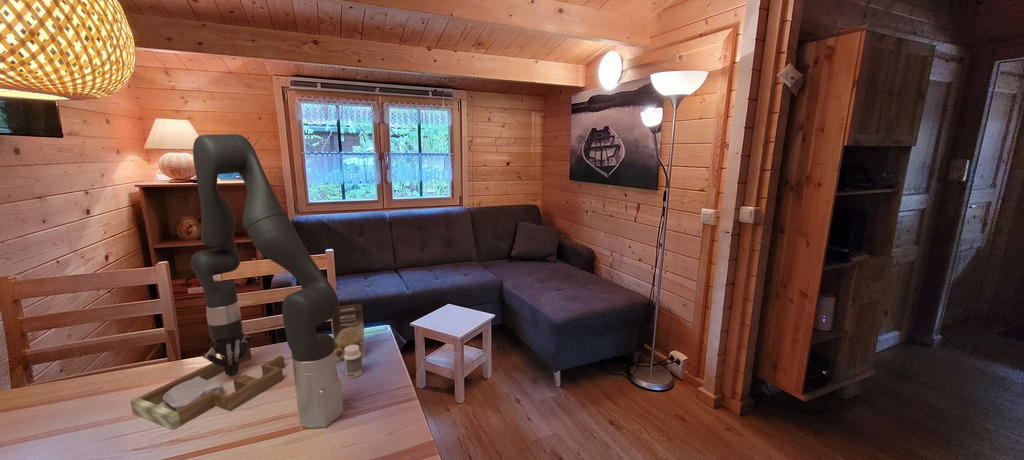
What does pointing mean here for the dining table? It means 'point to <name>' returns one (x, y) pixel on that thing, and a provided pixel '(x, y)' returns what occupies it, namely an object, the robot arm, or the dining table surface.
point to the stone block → (191, 391)
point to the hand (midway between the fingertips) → (232, 374)
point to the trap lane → (243, 392)
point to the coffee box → (348, 329)
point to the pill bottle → (353, 361)
